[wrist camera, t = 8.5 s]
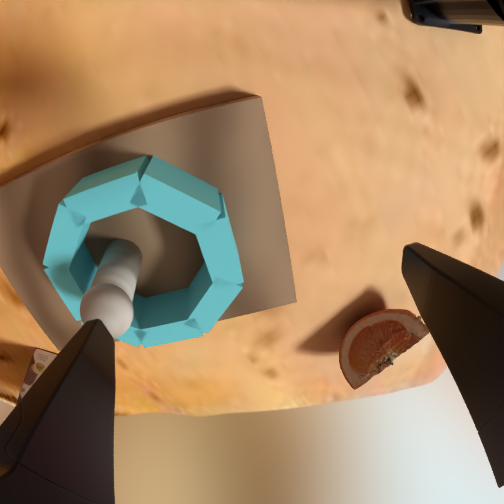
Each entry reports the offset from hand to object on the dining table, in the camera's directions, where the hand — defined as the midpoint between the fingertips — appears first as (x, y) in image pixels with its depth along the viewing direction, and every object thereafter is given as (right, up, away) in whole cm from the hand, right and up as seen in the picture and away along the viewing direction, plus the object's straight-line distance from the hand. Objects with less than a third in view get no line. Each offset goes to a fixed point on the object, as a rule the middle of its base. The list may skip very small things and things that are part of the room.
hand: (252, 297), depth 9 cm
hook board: (-8, +2, +11) cm, 14 cm away
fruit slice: (+11, -5, +20) cm, 23 cm away
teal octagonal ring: (-6, +2, +10) cm, 12 cm away
